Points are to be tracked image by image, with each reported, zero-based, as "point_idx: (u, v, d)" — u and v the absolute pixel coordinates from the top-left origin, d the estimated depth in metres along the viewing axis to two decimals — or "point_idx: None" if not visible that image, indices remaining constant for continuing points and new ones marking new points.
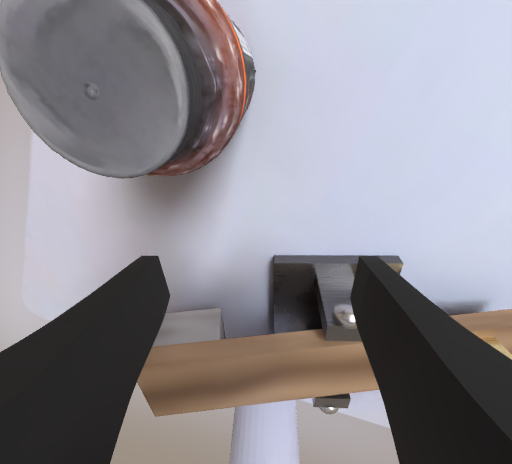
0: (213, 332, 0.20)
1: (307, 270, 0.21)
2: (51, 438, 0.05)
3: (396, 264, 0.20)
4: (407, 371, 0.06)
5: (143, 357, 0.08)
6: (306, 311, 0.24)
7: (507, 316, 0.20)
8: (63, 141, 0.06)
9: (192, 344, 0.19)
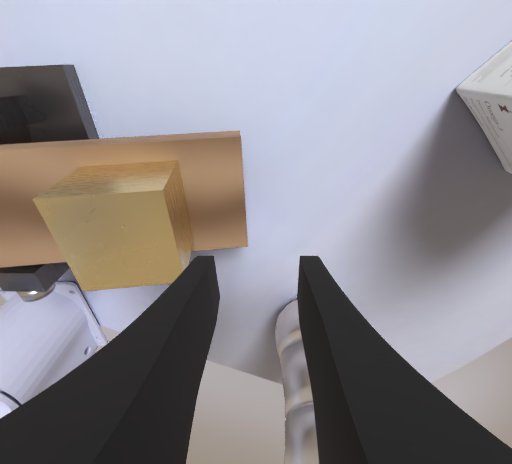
0: None
1: None
2: (152, 442, 0.05)
3: (55, 67, 0.15)
4: (321, 369, 0.06)
5: (204, 358, 0.08)
6: None
7: (202, 135, 0.14)
8: None
9: None
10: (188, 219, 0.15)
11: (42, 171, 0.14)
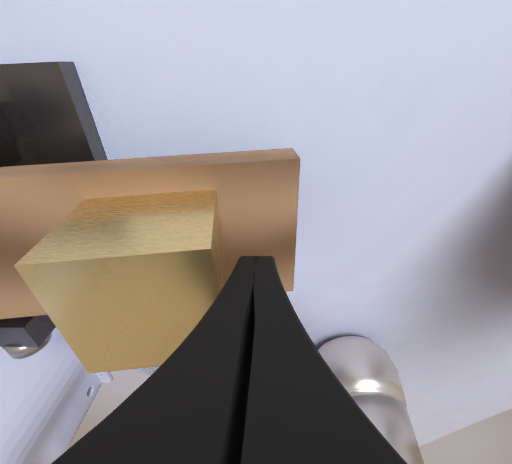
0: None
1: None
2: (237, 446, 0.05)
3: (49, 65, 0.11)
4: None
5: None
6: None
7: (246, 155, 0.11)
8: None
9: None
10: (224, 262, 0.12)
11: (31, 206, 0.10)
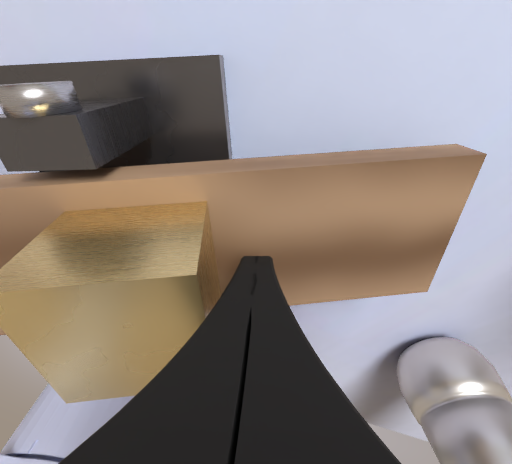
0: None
1: None
2: None
3: (208, 59, 0.11)
4: None
5: None
6: None
7: (419, 151, 0.10)
8: None
9: None
10: (217, 278, 0.11)
11: None
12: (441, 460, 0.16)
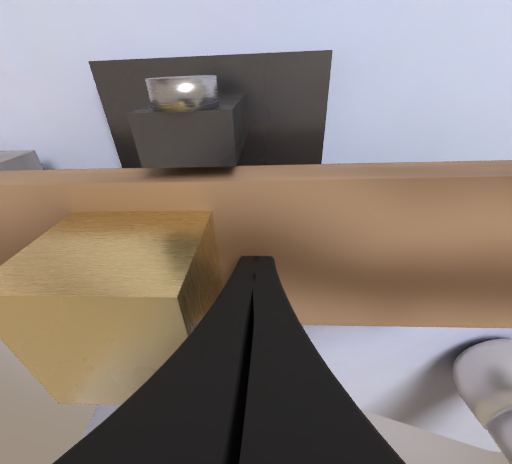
0: None
1: None
2: (238, 446, 0.05)
3: (320, 54, 0.10)
4: None
5: None
6: None
7: None
8: None
9: None
10: (220, 290, 0.11)
11: (333, 211, 0.09)
12: None
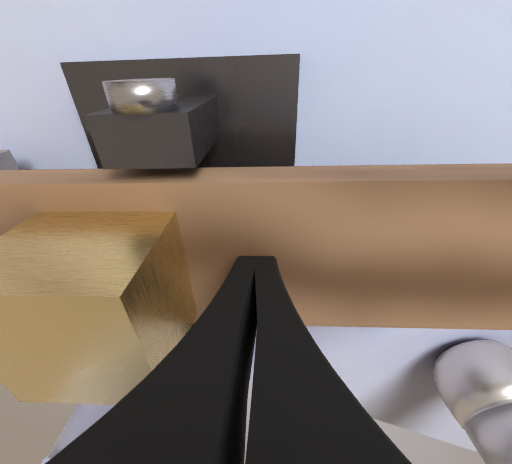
0: None
1: None
2: (232, 446, 0.05)
3: (288, 58, 0.11)
4: None
5: (251, 360, 0.08)
6: None
7: None
8: None
9: None
10: (188, 290, 0.11)
11: (294, 213, 0.09)
12: (491, 463, 0.16)
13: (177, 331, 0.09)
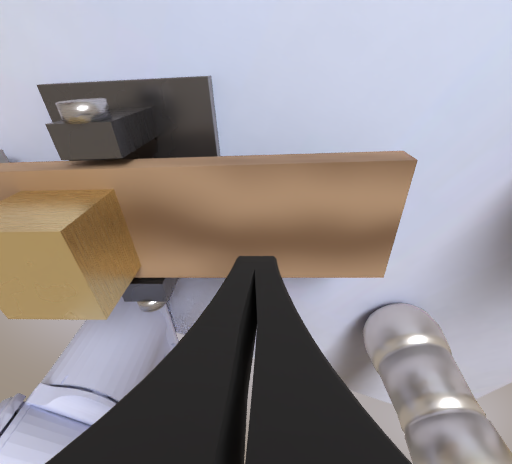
0: None
1: (87, 98, 0.15)
2: (232, 446, 0.05)
3: (199, 79, 0.15)
4: None
5: (251, 360, 0.08)
6: None
7: (365, 155, 0.13)
8: None
9: None
10: (130, 248, 0.15)
11: (194, 188, 0.13)
12: (390, 396, 0.20)
13: (117, 272, 0.13)
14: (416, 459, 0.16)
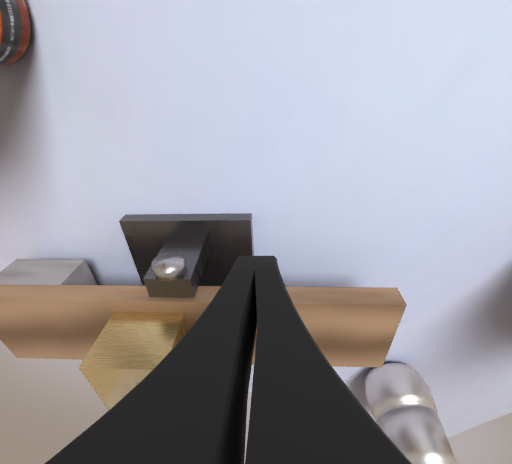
0: (59, 279, 0.20)
1: (156, 229, 0.20)
2: (232, 446, 0.05)
3: (244, 221, 0.19)
4: None
5: (251, 360, 0.08)
6: None
7: (369, 294, 0.17)
8: None
9: (33, 285, 0.19)
10: None
11: None
12: None
13: None
14: None
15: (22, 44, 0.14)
